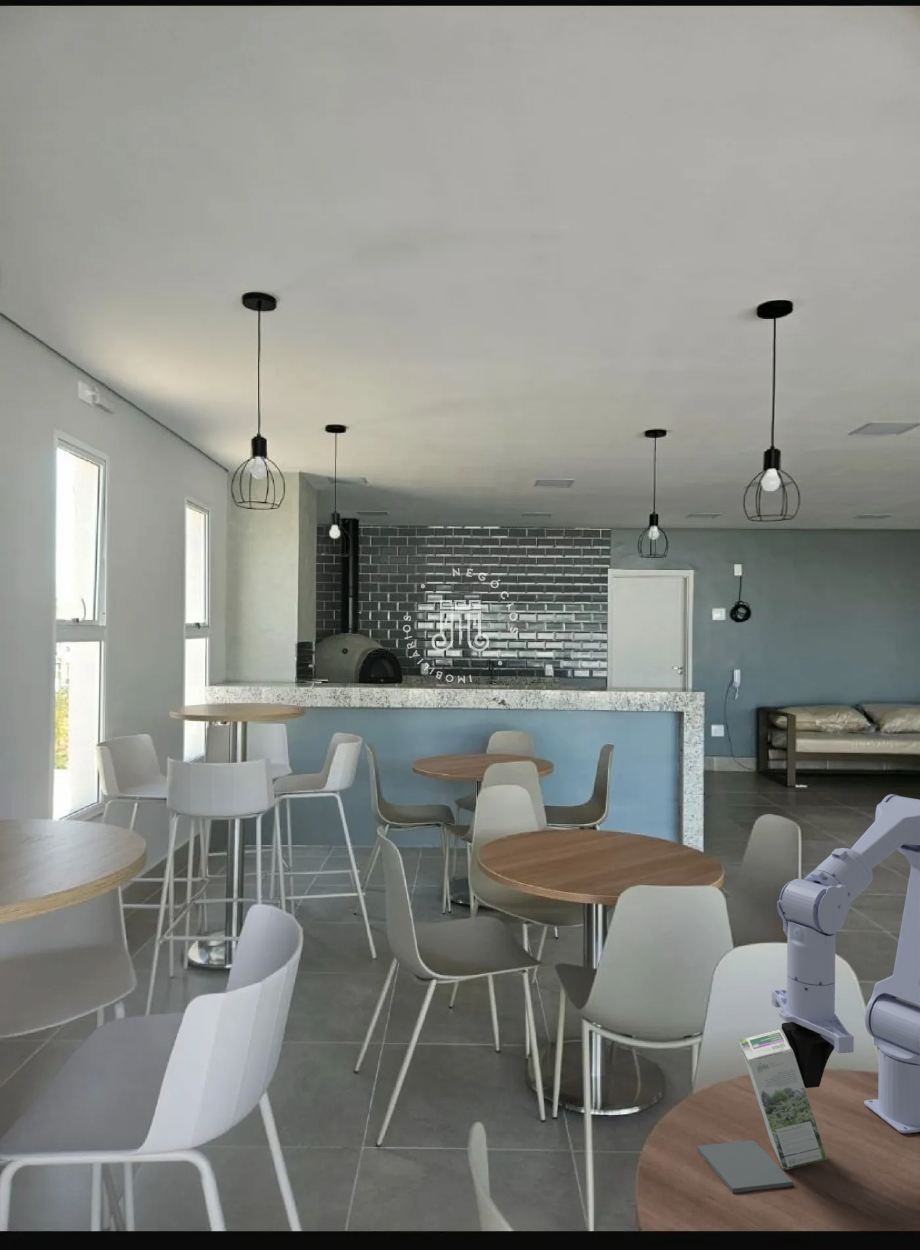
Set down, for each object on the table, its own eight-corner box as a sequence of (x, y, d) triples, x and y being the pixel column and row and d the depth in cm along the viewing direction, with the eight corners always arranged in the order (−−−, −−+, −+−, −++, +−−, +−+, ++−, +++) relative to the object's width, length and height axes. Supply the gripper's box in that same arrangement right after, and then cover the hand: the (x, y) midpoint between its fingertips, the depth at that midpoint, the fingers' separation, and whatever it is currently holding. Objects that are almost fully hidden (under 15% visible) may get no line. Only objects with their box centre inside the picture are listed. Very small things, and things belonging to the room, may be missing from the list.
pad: (753, 1143, 114) (753, 1139, 114) (793, 1185, 105) (793, 1181, 105) (696, 1149, 113) (696, 1145, 113) (732, 1192, 104) (732, 1188, 104)
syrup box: (814, 1134, 113) (779, 1026, 114) (829, 1161, 108) (792, 1046, 108) (771, 1145, 114) (736, 1037, 115) (784, 1173, 108) (747, 1058, 109)
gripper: (752, 958, 118) (750, 1060, 117) (817, 1001, 104) (815, 1117, 103) (798, 955, 119) (797, 1056, 119) (869, 998, 105) (868, 1112, 105)
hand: (809, 1084), depth 111 cm, fingers closed
